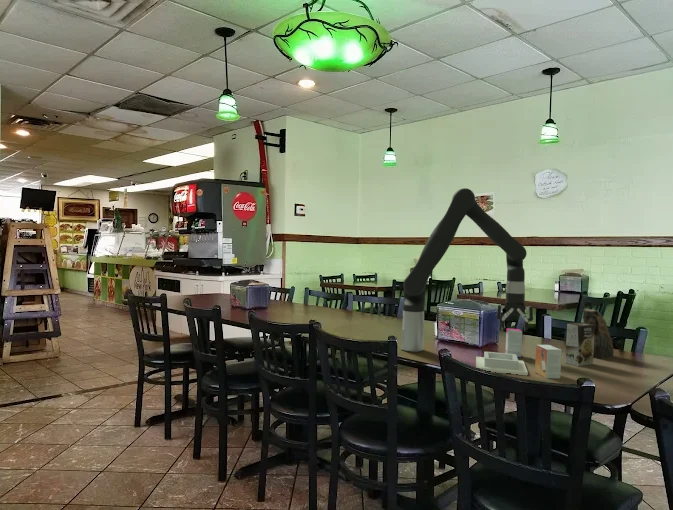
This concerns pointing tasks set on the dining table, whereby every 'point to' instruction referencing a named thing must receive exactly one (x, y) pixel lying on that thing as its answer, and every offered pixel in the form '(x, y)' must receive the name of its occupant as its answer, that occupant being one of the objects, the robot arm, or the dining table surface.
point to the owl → (599, 334)
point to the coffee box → (580, 344)
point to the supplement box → (513, 342)
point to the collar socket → (501, 363)
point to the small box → (548, 361)
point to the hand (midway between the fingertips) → (514, 330)
